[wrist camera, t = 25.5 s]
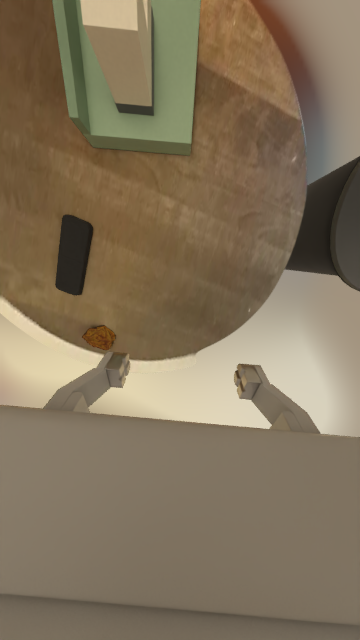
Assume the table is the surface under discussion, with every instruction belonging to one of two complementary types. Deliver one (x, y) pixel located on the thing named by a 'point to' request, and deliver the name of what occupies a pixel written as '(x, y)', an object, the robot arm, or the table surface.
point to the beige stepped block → (124, 50)
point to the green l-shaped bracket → (169, 81)
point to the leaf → (99, 337)
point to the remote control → (73, 254)
